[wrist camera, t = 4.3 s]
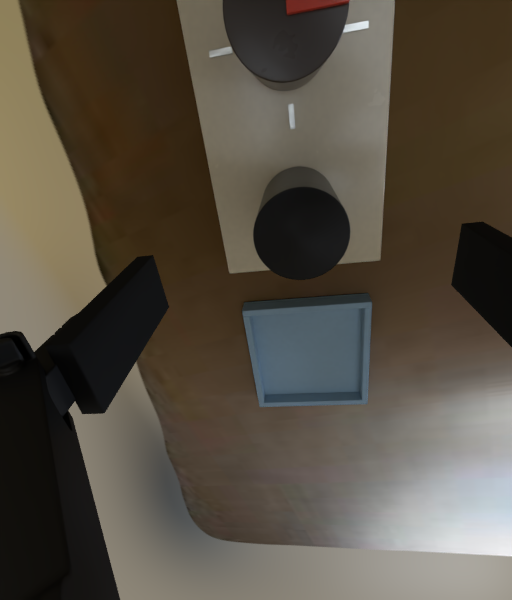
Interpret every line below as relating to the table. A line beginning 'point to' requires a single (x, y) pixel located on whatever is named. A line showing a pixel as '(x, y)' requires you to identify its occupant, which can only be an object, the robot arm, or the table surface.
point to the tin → (300, 225)
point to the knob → (284, 37)
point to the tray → (310, 349)
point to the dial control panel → (294, 125)
